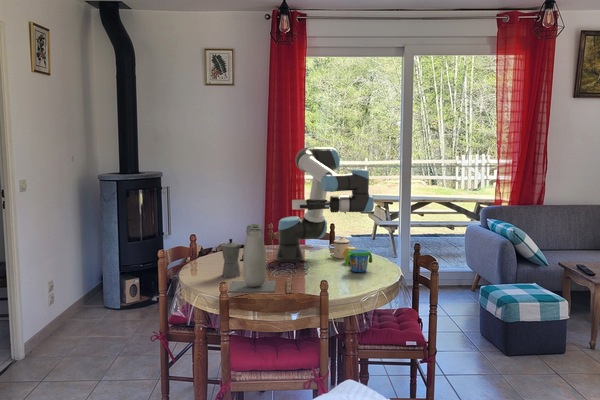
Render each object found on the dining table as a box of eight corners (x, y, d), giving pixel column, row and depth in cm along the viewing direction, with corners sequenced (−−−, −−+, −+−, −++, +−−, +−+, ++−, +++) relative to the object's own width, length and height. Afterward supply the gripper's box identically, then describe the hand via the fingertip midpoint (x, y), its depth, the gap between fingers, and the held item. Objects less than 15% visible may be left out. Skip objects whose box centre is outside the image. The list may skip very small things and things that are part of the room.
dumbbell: (368, 269, 248) (368, 253, 247) (350, 270, 246) (350, 254, 246) (358, 261, 266) (358, 246, 266) (341, 261, 265) (341, 246, 264)
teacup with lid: (348, 254, 282) (348, 234, 281) (351, 258, 273) (351, 237, 272) (327, 255, 281) (327, 235, 280) (329, 258, 272) (329, 238, 271)
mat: (232, 282, 226) (232, 281, 226) (276, 281, 227) (276, 280, 227) (228, 292, 211) (228, 291, 210) (274, 291, 211) (274, 290, 211)
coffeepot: (214, 276, 237) (213, 239, 235) (224, 271, 246) (223, 236, 244) (243, 279, 231) (242, 241, 229) (252, 274, 240) (251, 238, 238)
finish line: (286, 281, 228) (286, 279, 228) (291, 280, 228) (291, 279, 228) (286, 293, 208) (286, 292, 208) (291, 293, 208) (291, 292, 208)
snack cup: (366, 267, 252) (366, 247, 251) (378, 271, 242) (378, 251, 242) (339, 270, 245) (339, 250, 244) (351, 275, 236) (351, 254, 235)
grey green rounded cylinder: (247, 290, 211) (246, 226, 208) (241, 284, 220) (239, 223, 217) (269, 288, 215) (268, 224, 212) (261, 282, 224) (261, 221, 221)
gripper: (341, 216, 210) (292, 216, 210) (336, 208, 235) (292, 209, 235) (341, 198, 209) (292, 199, 209) (336, 193, 234) (292, 193, 234)
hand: (292, 204), depth 222 cm, fingers open, 13 cm apart
